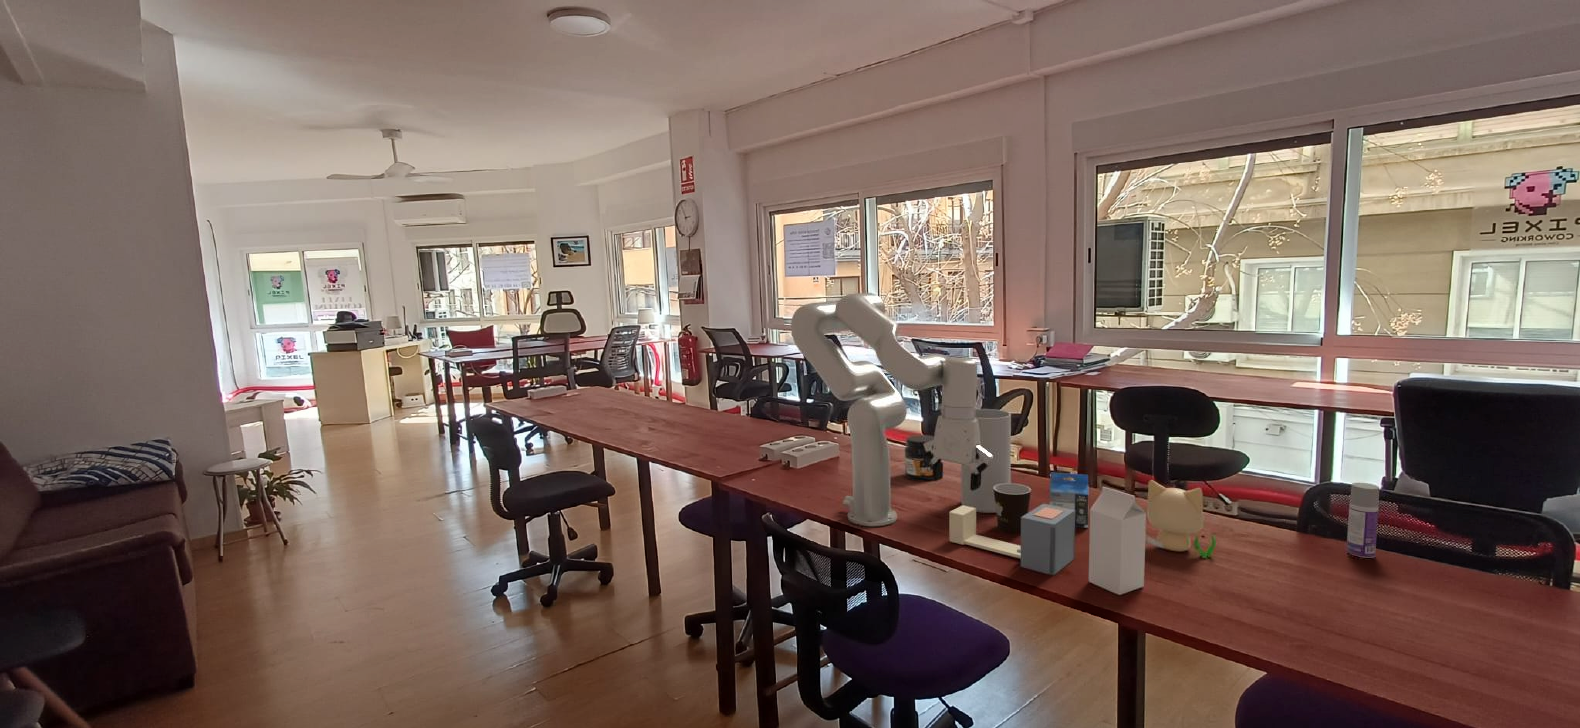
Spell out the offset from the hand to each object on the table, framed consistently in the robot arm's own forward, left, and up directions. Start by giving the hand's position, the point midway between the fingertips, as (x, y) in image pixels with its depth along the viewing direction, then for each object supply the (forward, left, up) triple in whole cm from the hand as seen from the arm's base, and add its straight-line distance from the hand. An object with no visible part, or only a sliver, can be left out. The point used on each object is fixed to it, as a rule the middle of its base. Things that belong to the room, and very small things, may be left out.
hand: (956, 484), depth 162 cm
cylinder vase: (-6, +25, -13) cm, 29 cm away
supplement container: (-34, +38, -13) cm, 53 cm away
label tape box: (+16, +25, -13) cm, 33 cm away
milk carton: (+36, -2, -13) cm, 39 cm away
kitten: (+40, +24, -13) cm, 49 cm away
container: (+70, +44, -13) cm, 84 cm away
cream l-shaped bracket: (+9, 0, -13) cm, 15 cm away
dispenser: (+22, 0, -13) cm, 26 cm away
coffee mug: (+6, +15, -13) cm, 21 cm away
